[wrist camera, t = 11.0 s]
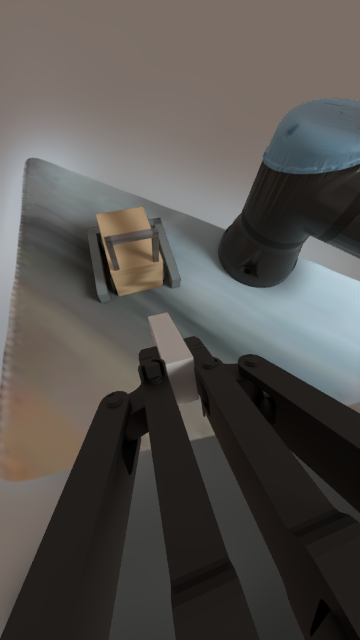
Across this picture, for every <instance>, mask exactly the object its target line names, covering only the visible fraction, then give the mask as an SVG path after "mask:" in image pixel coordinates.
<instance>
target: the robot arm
mask: <svg viewBox="0 0 360 640" xmlns="http://www.w3.org/2000/svg"><path fill="white" fill-rule="evenodd" d="M309 236H313V237H315V238H317V239H319V240H321V241H323V242H325V243H327V244H330V245H331V246H333V247H336V248H338V249H340V250H342V251H344V252H346V253H348V254H350V255H352V256H355V257H357V258H359V259H360V101H356V100H349V99H339V98H325V99H317V100H312V101H308V102H305V103H302V104H300V105H298V106H296V107H294V108H293V109H292V110H290V111H289V112H288V113H287V114H286V115H285V116H284V117H283V118H282V120H281V121H280V123H279V125H278V127H277V129H276V131H275V133H274V135H273V138H272V140H271V142H270V144H269V146H268V147H267V148H266V150H265V152H264V155H263V161H262V163H261V166H260V168H259V171H258V173H257V176H256V178H255V181H254V184H253V186H252V188H251V191H250V193H249V196H248V198H247V200H246V203H245V206H244V208H243V210H242V213H241V214H240V215H239V216H238V217H237V218H236V219H235V221H234V222H233V224H232V225H230V226H229V227H228V228H227V229H226V231H225V232H224V234H223V236H222V239H221V241H220V244H219V249H218V253H219V259H220V261H221V264H222V266H223V267H224V269H225V270H226V271H227V272H228V273H229V274H230V275H231V276H232V277H233V278H234V279H236V280H238V281H239V282H241V283H243V284H246V285H249V286H253V287H260V288H265V287H271V286H275V285H277V284H279V283H281V282H282V281H284V280H285V279H286V278H287V277H288V275H289V274H290V273H291V272H292V271H293V269H294V268H295V265H296V263H297V259H298V255H299V253H300V250H301V248H302V245H303V243H304V242H305V241H306V240H307V238H308V237H309ZM148 319H149V323H150V328H151V332H152V337H153V342H154V346H155V347H151V348H147V349H143V350H141V351H140V353H139V361H140V365H139V367H138V371H139V375H140V379H141V385H140V386H139V387H138V388H137V389H136V390H135V391H133V392H131V393H130V394H127V393H126V392H123V391H116V392H113V393H110V394H109V395H107V396H106V397H104V398H103V399H102V401H101V402H100V404H99V406H98V409H97V411H96V414H95V416H94V418H93V421H92V423H91V425H90V428H89V430H88V432H87V435H86V437H85V440H84V442H83V444H82V447H81V449H80V451H79V454H78V456H77V458H76V461H75V463H74V465H73V468H72V470H71V473H70V475H69V477H68V480H67V482H66V484H65V487H64V489H63V492H62V494H61V496H60V499H59V501H58V504H57V506H56V508H55V510H54V513H53V515H52V517H51V520H50V522H49V524H48V527H47V529H46V532H45V534H44V536H43V539H42V541H41V543H40V546H39V548H38V550H37V553H36V555H35V558H34V560H33V562H32V565H31V567H30V569H29V572H28V574H27V576H26V579H25V581H24V583H23V586H22V588H21V591H20V593H19V595H18V598H17V600H16V602H15V605H14V607H13V609H12V612H11V614H10V617H9V619H8V621H7V624H6V626H5V629H4V631H3V633H2V635H1V638H0V640H109V634H110V628H111V622H112V616H113V610H114V603H115V597H116V591H117V585H118V579H119V572H120V567H121V561H122V554H123V548H124V542H125V536H126V529H127V523H128V517H129V511H130V505H131V499H132V492H133V487H134V481H135V475H136V468H137V462H138V456H139V450H140V444H141V436H143V435H144V434H146V433H148V432H149V437H150V444H151V450H152V457H153V463H154V471H155V478H156V484H157V491H158V497H159V505H160V512H161V519H162V526H163V533H164V539H165V546H166V553H167V560H168V566H169V574H170V581H171V603H172V612H173V621H174V628H175V635H176V640H260V639H259V636H258V633H257V631H256V628H255V625H254V622H253V619H252V616H251V613H250V610H249V608H248V604H247V602H246V599H245V596H244V593H243V590H242V587H241V584H240V581H239V579H238V576H237V574H236V571H235V569H234V567H233V565H232V563H231V561H230V560H229V557H228V554H227V551H226V549H225V546H224V543H223V540H222V536H221V534H220V530H219V527H218V525H217V521H216V518H215V515H214V513H213V509H212V507H211V503H210V500H209V497H208V494H207V492H206V488H205V485H204V482H203V479H202V477H201V473H200V470H199V467H198V464H197V461H196V458H195V456H194V453H193V449H192V446H191V444H190V440H189V437H188V434H187V431H186V428H185V426H184V423H183V420H182V417H181V414H180V411H179V408H178V405H181V404H184V403H188V402H191V401H194V400H198V399H199V395H200V397H201V402H202V410H203V416H204V417H205V413H206V416H207V418H208V420H209V422H210V424H211V426H212V428H213V431H214V433H215V435H216V437H217V439H218V441H219V443H220V445H221V448H222V450H223V452H224V454H225V457H226V459H227V461H228V463H229V465H230V467H231V470H232V472H233V473H234V476H235V478H236V480H237V482H238V485H239V486H240V489H241V491H242V493H243V495H244V498H245V500H246V502H247V504H248V506H249V508H250V511H251V513H252V515H253V517H254V519H255V521H256V523H257V525H258V528H259V530H260V532H261V534H262V536H263V539H264V540H265V543H266V545H267V547H268V549H269V552H270V554H271V556H272V558H273V560H274V562H275V564H276V566H277V569H278V571H279V573H280V576H281V578H282V581H283V583H284V587H285V590H286V594H287V596H288V600H289V603H290V606H291V608H292V611H293V613H294V616H295V618H296V621H297V623H298V625H299V628H300V630H301V632H302V634H303V636H304V639H305V640H360V523H359V522H358V521H357V520H355V519H354V518H353V517H351V516H350V515H348V514H345V513H341V512H339V511H338V510H337V509H335V508H334V507H333V505H332V504H331V503H330V502H329V501H328V500H327V498H326V497H325V495H324V494H323V493H322V492H321V490H320V489H319V488H318V486H317V485H316V484H315V482H314V481H313V480H312V479H311V477H310V476H309V475H308V473H307V472H306V471H305V470H304V468H303V467H302V466H301V464H300V463H299V462H298V460H297V459H296V458H295V456H294V455H293V454H292V453H291V451H292V452H293V453H294V454H295V455H296V456H297V457H298V458H300V459H301V460H302V461H303V462H304V463H305V464H306V465H307V466H308V467H310V468H311V469H312V470H313V471H314V472H315V473H316V474H317V475H318V476H320V477H321V478H322V479H323V480H324V481H325V482H326V483H327V484H328V485H329V486H331V487H332V488H333V489H334V490H335V491H336V492H337V493H338V494H339V495H341V496H342V497H343V498H344V499H345V500H346V501H347V502H348V503H349V504H350V505H352V506H353V507H354V508H355V509H356V510H357V511H358V512H359V513H360V413H358V412H356V411H354V410H353V409H351V408H349V407H347V406H346V405H344V404H342V403H340V402H339V401H337V400H335V399H333V398H332V397H330V396H328V395H326V394H325V393H323V392H321V391H320V390H318V389H316V388H314V387H313V386H311V385H309V384H307V383H306V382H304V381H302V380H300V379H299V378H297V377H295V376H293V375H292V374H290V373H288V372H287V371H285V370H283V369H281V368H280V367H278V366H276V365H274V364H273V363H271V362H269V361H267V360H266V359H264V358H262V357H260V356H258V355H253V354H248V355H244V356H241V357H240V358H239V359H238V364H223V363H222V361H221V360H219V359H218V358H215V357H212V355H211V354H210V353H209V351H208V350H207V348H206V347H205V346H204V344H203V343H202V342H201V340H200V339H199V338H197V337H195V336H193V337H189V338H185V339H182V337H181V335H180V333H179V332H178V330H177V328H176V326H175V325H174V323H173V321H172V320H171V318H170V316H169V314H168V313H163V314H158V315H154V316H150V317H148ZM198 393H199V395H198ZM266 393H267V394H266ZM289 449H290V450H291V451H290V450H289Z"/></svg>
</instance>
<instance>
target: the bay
mask: <svg viewBox="0 0 360 640" xmlns="http://www.w3.org/2000/svg"><path fill="white" fill-rule="evenodd" d="M148 221H149V224H150V227H151V228H156V227H157V229H158V232H159V249H160V252H161V255H162V259H163V262H164V265H165V268H166V271H167V275H168V278H169V281H170V284H171V287H172V288H175V287H180V281H181V278H180V275H179V272H178V269H177V266H176V263H175V260H174V257H173V254H172V251H171V248H170V245H169V242H168V239H167V236H166V233H165V230H164V228H163V225H162V222H161V219H160V218H155V219H148ZM86 229H87V235H88V241H89V247H90V253H91V259H92V265H93V270H94V276H95V282H96V288H97V294H98V297H99V299H100V301H101V303H103V302H108V301H110V296H109V291H108V285H107V280H106V275H105V270H104V265H103V259H102V254H101V249H100V244H99V243H101V240H102V236H101V232H100V228H99V227H93V228H86Z"/></svg>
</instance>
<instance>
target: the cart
mask: <svg viewBox="0 0 360 640" xmlns="http://www.w3.org/2000/svg"><path fill="white" fill-rule="evenodd" d="M96 216H97V220H98V224H99V228H100V232H101V236H102V240H101V244H102V248H103V251H104V253H106V256H107V260H108V264H109V268H110V272H111V275H112V277H110V281H111V285H112V288H113V291H117V292H118V295H119V296H122V295H127V294H131V293H135V292H139V291H143V290H148V289H152V288H156V287H160V286H163V280H164V279H165V274H164V270H163V260H162V257H161V255H160V252H159V232H158V229H157V227H156V228H151V227H150V224H149V221H148V218H147V216H146V213H145V210H144V207H139V208H132V209H126V210H120V211H114V212H108V213H101V214H96Z"/></svg>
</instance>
